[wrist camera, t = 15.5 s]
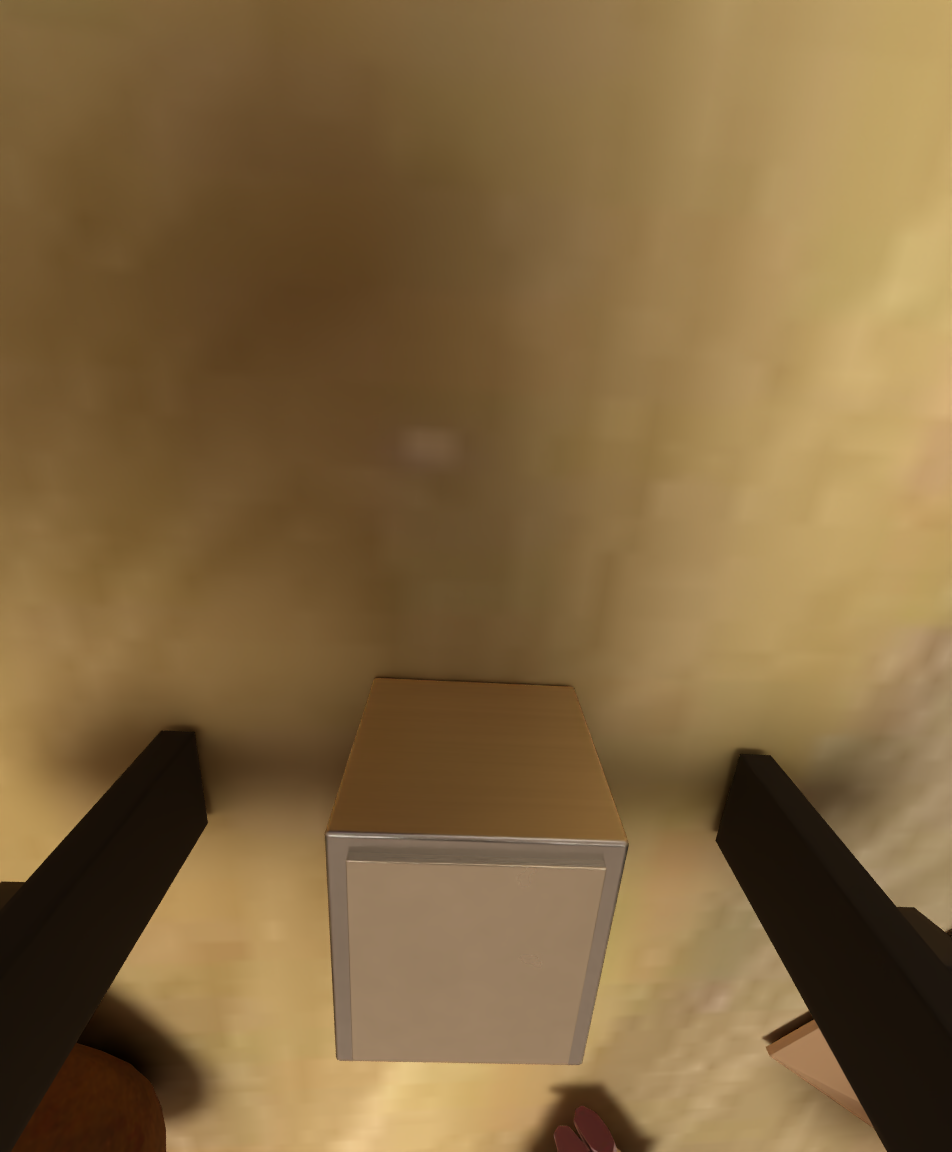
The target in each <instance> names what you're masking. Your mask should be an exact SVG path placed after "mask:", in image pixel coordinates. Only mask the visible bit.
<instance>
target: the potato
mask: <svg viewBox="0 0 952 1152" xmlns="http://www.w3.org/2000/svg"><path fill="white" fill-rule="evenodd" d="M11 1152H166V1129H165V1123H164V1117H163V1112H162V1107H161V1105H160V1103H159V1100H158V1098H157V1095H156V1093H155V1091H154V1088H153V1086H152V1084H151V1082H150V1081H149V1080H148V1079H147V1078H146V1077H144V1076H143V1075H142V1074H141V1073H140V1072H139V1071H137V1070H136V1069H135V1068H134V1067H133V1066H132V1065H131V1064H130V1063H128V1062H126V1061H123V1060H121V1059H119V1058H117V1057H114V1056H112V1055H110V1054H108V1053H105V1052H103V1051H101V1050H97V1049H94V1048H91V1047H88V1046H84V1045H81V1044H78V1043H76V1044H75V1045H74V1047H73V1049H72V1050H71V1052H70V1054H69V1055H68V1057H67V1059H66V1060H65V1062H64V1064H63V1065H62V1067H61V1069H60V1070H59V1072H58V1074H57V1075H56V1077H55V1079H54V1080H53V1082H52V1084H51V1085H50V1087H49V1089H48V1090H47V1092H46V1094H45V1096H44V1097H43V1099H42V1101H41V1102H40V1104H39V1106H38V1107H37V1109H36V1111H35V1112H34V1114H33V1116H32V1117H31V1119H30V1121H29V1122H28V1124H27V1126H26V1127H25V1129H24V1131H23V1132H22V1134H21V1136H20V1137H19V1139H18V1141H17V1142H16V1144H15V1146H14V1147H13V1149H12V1151H11Z"/></svg>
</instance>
